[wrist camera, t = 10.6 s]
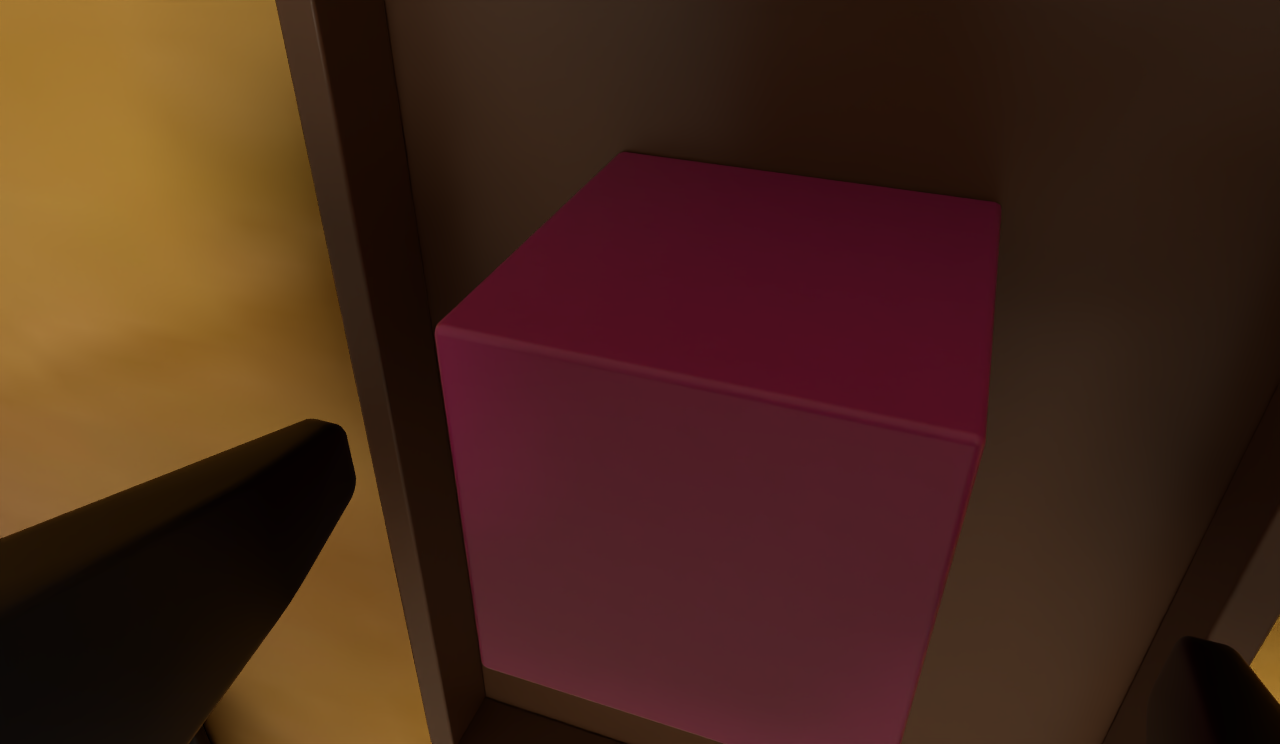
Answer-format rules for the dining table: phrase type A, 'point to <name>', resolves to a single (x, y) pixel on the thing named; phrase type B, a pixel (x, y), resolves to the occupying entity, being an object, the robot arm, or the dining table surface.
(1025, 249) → the tray
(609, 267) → the top block
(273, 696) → the dining table surface
